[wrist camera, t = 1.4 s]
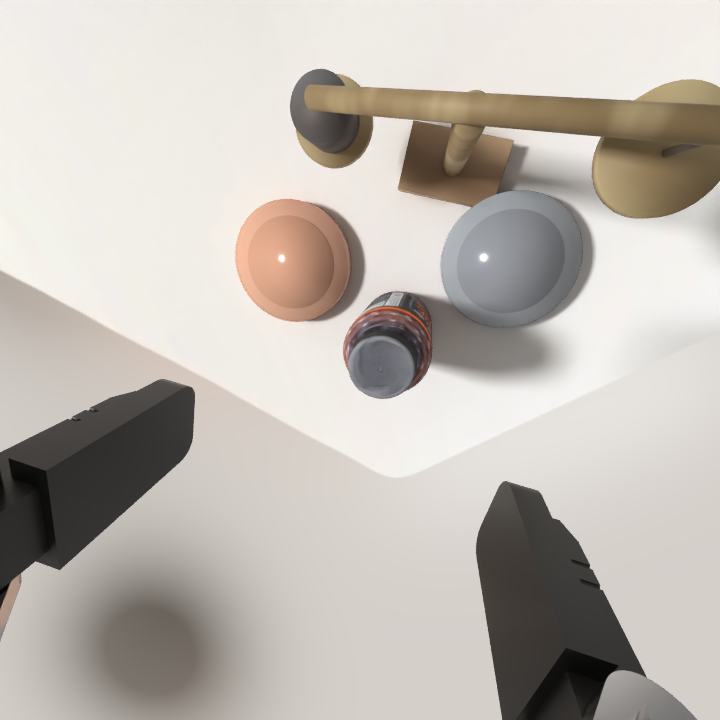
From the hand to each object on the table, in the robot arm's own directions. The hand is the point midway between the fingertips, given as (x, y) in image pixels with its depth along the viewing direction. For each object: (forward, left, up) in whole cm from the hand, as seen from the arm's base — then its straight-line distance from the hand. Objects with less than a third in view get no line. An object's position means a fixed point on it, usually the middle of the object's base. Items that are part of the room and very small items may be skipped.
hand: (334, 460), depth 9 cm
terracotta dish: (-1, -10, -23) cm, 25 cm away
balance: (-10, +1, -23) cm, 25 cm away
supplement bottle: (+2, 0, -23) cm, 23 cm away
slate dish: (-5, +7, -23) cm, 24 cm away
